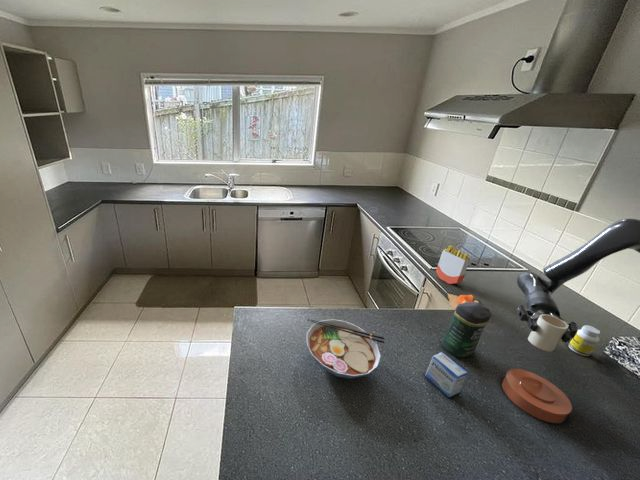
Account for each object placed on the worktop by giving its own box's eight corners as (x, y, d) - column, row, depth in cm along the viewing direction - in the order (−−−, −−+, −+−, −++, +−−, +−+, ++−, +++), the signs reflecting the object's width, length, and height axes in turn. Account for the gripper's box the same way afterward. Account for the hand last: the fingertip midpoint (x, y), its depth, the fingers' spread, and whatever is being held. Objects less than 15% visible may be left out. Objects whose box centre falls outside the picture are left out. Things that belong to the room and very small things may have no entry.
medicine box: (424, 376, 88) (432, 355, 84) (434, 371, 89) (442, 351, 86) (449, 398, 81) (458, 377, 78) (458, 393, 83) (468, 372, 79)
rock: (451, 308, 119) (454, 300, 117) (447, 293, 129) (449, 285, 127) (485, 317, 114) (489, 309, 113) (478, 301, 124) (481, 293, 123)
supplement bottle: (566, 342, 103) (578, 321, 100) (587, 349, 101) (600, 328, 97) (569, 351, 99) (583, 330, 96) (591, 359, 97) (606, 337, 93)
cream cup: (552, 342, 88) (565, 320, 85) (556, 354, 84) (570, 331, 80) (526, 333, 92) (538, 311, 88) (528, 344, 87) (541, 322, 84)
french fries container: (440, 273, 145) (451, 242, 138) (461, 285, 136) (473, 252, 129) (434, 275, 143) (444, 244, 136) (454, 287, 134) (467, 254, 127)
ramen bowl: (292, 375, 86) (295, 356, 83) (308, 326, 106) (310, 309, 102) (379, 407, 78) (386, 387, 74) (378, 348, 97) (383, 329, 94)
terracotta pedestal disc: (560, 395, 83) (566, 385, 82) (571, 434, 73) (579, 424, 71) (500, 369, 91) (505, 360, 89) (503, 401, 81) (508, 391, 79)
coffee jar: (457, 361, 94) (476, 317, 86) (437, 343, 100) (453, 301, 93) (478, 354, 96) (498, 311, 89) (457, 338, 103) (474, 296, 96)
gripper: (518, 289, 99) (523, 314, 86) (576, 306, 91) (591, 336, 78) (510, 306, 102) (514, 332, 89) (565, 324, 94) (578, 356, 81)
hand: (550, 334), depth 84 cm, fingers closed on cream cup, 6 cm apart
